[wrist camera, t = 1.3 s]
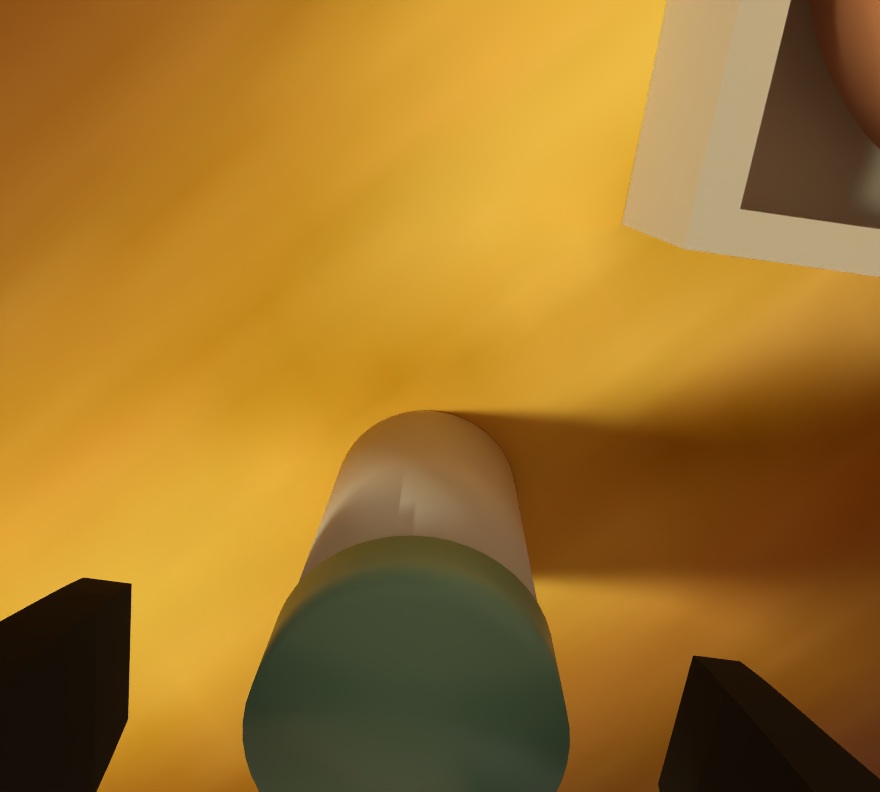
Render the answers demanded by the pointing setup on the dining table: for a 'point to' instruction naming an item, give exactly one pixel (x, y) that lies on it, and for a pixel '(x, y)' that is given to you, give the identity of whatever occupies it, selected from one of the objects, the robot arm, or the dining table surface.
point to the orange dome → (852, 56)
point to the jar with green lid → (412, 631)
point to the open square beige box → (753, 142)
